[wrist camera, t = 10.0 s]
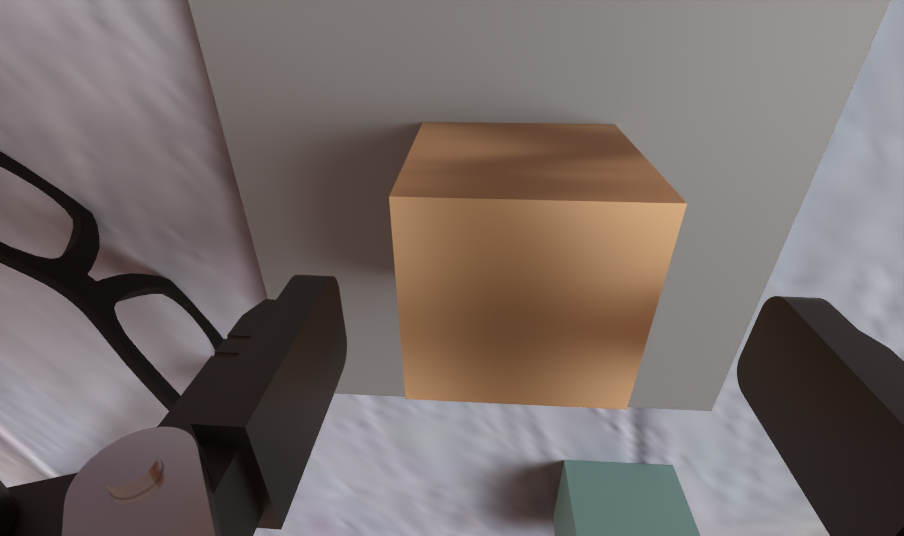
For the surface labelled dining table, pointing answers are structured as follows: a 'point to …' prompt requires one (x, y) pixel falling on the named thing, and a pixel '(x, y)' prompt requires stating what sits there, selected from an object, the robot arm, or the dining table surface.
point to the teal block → (621, 501)
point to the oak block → (528, 262)
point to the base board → (533, 101)
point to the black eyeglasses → (98, 284)
